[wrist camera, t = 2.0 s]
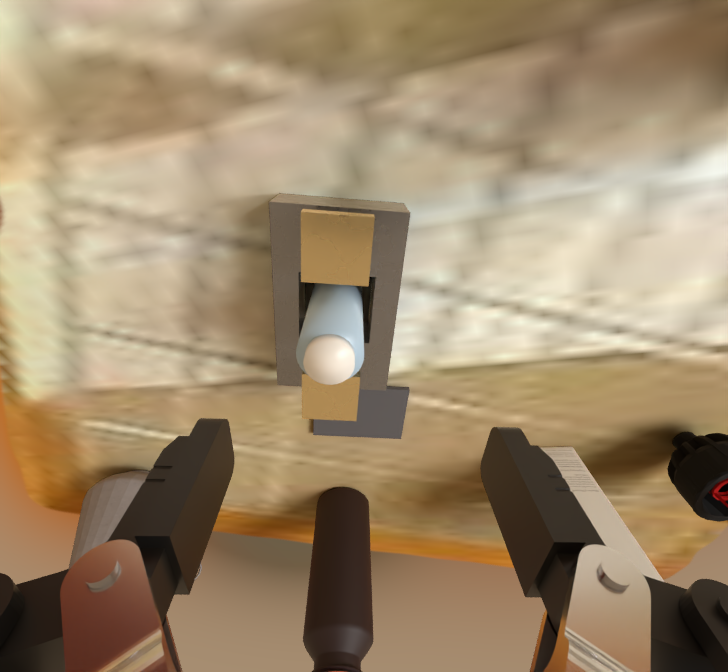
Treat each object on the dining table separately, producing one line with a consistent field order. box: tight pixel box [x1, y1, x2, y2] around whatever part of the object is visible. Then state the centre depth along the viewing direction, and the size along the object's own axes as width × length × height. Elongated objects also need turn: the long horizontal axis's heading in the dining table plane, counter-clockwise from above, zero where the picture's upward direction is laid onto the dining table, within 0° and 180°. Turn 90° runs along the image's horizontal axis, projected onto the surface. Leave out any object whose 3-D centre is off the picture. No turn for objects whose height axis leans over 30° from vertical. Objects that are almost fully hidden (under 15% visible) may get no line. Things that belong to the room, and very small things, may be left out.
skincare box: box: [540, 446, 664, 582], centre depth 38 cm, size 8×7×16 cm
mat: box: [313, 386, 409, 439], centre depth 40 cm, size 7×10×1 cm
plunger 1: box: [301, 209, 375, 286], centre depth 25 cm, size 4×4×5 cm
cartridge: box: [296, 283, 364, 385], centre depth 28 cm, size 4×4×12 cm
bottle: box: [303, 488, 373, 672], centre depth 39 cm, size 7×7×20 cm
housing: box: [269, 193, 410, 391], centre depth 31 cm, size 16×10×4 cm, turn 175°
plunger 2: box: [302, 370, 360, 421], centre depth 31 cm, size 4×4×5 cm
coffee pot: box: [69, 470, 202, 579], centre depth 38 cm, size 21×12×15 cm, turn 123°
